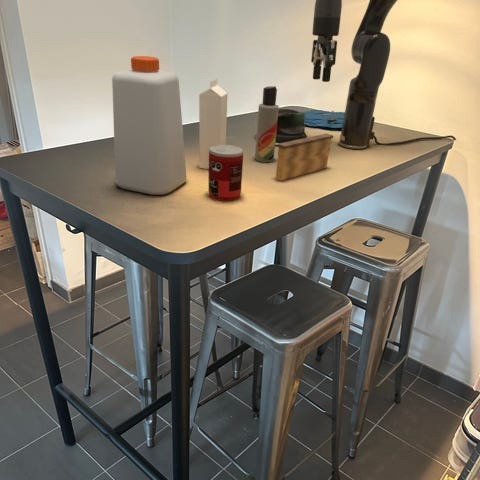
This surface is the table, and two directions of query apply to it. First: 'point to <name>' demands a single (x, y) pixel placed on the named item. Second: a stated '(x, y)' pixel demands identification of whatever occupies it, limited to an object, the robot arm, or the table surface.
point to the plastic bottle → (148, 128)
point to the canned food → (225, 172)
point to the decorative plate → (324, 118)
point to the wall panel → (302, 156)
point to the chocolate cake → (290, 126)
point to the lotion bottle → (267, 126)
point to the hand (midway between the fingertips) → (320, 80)
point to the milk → (211, 121)
